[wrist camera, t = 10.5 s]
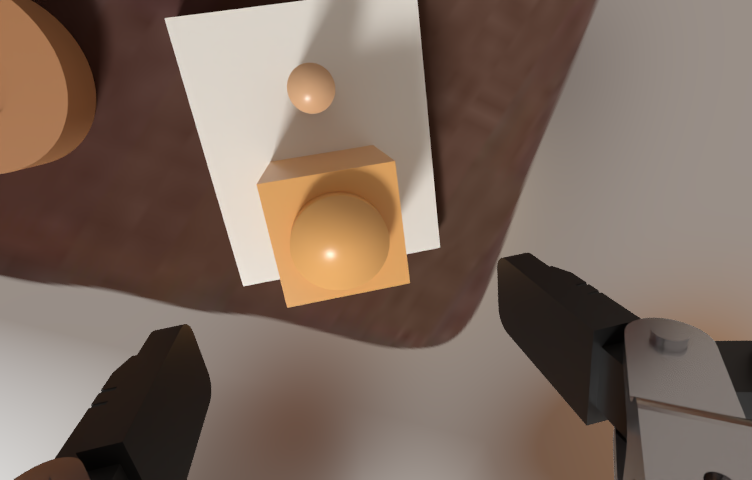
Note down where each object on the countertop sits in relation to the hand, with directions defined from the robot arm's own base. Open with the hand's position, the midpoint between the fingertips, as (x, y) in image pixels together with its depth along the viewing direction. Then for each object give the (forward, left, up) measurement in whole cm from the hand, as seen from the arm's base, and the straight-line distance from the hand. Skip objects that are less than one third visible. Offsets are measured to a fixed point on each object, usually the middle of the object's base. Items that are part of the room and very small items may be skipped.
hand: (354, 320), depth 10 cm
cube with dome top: (0, 0, -13) cm, 13 cm away
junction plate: (0, +3, -15) cm, 15 cm away
